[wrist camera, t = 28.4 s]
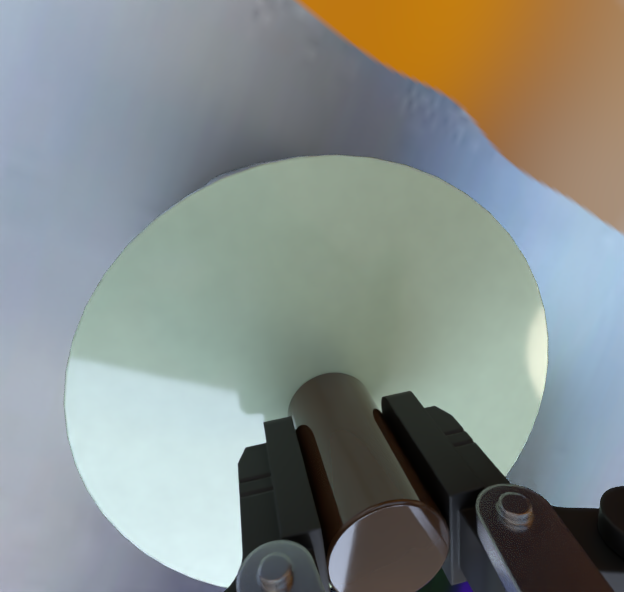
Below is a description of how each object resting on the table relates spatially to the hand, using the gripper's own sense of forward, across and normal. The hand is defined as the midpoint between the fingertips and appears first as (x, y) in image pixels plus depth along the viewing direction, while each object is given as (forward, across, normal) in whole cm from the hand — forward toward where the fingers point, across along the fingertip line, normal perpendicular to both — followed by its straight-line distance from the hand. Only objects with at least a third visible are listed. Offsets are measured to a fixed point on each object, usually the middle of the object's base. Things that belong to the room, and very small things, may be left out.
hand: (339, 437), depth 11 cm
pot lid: (+2, 0, 0) cm, 2 cm away
